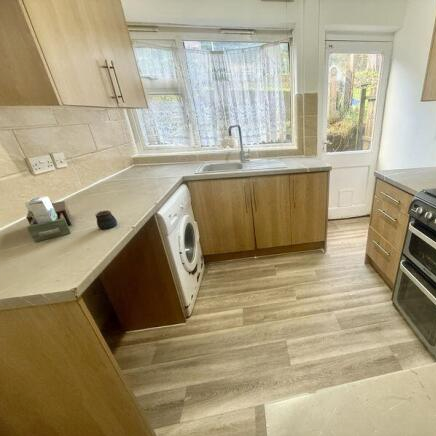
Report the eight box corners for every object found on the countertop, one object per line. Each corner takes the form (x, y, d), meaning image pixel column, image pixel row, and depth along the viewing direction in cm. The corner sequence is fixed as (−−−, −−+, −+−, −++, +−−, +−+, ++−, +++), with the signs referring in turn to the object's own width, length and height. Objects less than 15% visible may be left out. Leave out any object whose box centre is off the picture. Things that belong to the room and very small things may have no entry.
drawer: (71, 236, 102) (64, 222, 100) (33, 246, 96) (25, 230, 93) (69, 222, 116) (64, 209, 113) (36, 229, 109) (30, 216, 107)
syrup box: (46, 229, 107) (29, 198, 101) (63, 226, 109) (47, 195, 103) (41, 234, 102) (23, 202, 96) (58, 231, 105) (42, 199, 98)
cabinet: (72, 226, 114) (65, 209, 110) (35, 235, 106) (26, 217, 103) (71, 216, 125) (64, 200, 122) (37, 223, 118) (29, 207, 114)
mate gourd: (117, 223, 115) (109, 204, 111) (120, 228, 110) (112, 208, 106) (99, 228, 111) (90, 208, 107) (101, 234, 106) (91, 213, 102)
